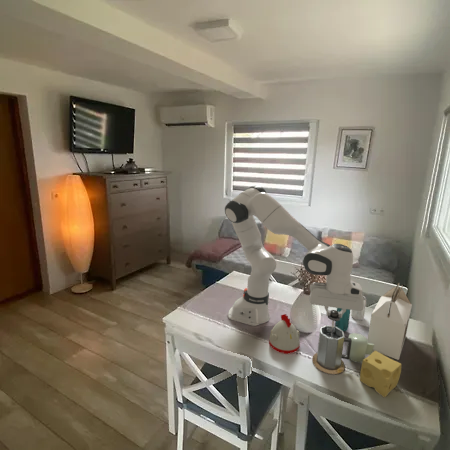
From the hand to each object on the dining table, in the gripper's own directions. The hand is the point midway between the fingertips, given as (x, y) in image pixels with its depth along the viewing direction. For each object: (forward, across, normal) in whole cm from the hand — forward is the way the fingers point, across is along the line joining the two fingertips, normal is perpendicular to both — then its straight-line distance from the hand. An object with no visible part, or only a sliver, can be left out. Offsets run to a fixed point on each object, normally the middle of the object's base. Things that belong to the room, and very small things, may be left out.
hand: (334, 316), depth 118 cm
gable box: (+23, +28, +23) cm, 43 cm away
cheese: (+23, +18, -6) cm, 30 cm away
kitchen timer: (+23, -19, +8) cm, 31 cm away
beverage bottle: (+23, +8, +27) cm, 36 cm away
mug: (+23, +13, +8) cm, 27 cm away
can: (+23, +18, +42) cm, 51 cm away
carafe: (+22, 0, 0) cm, 23 cm away
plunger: (+11, 0, 0) cm, 11 cm away
